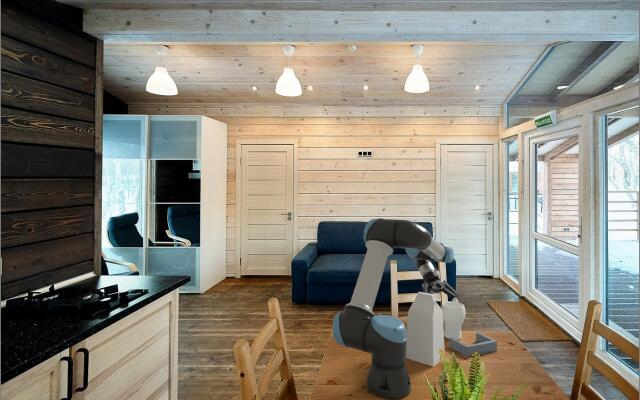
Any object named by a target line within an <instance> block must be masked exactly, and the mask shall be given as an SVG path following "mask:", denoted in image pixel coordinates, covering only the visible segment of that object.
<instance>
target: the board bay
mask: <svg viewBox="0 0 640 400" xmlns="http://www.w3.org/2000/svg"><path fill="white" fill-rule="evenodd" d="M475 334H476V335H475V341H476V342H477V343H472V344H468V345H467V344H464V343H462V342H461V341H459V340H456V339H454V338H452V337H450V338H449V339H448V341H449V342H448V343H449V344H448V345H449V346H448V347H449V348H451V349H453V350H454V351H456V352H458V353H460V354H461V355H463V356H465V357H466V358H470V357H473V356H472V354H473V353H475V352H478V353H479V355H483V354H484V355H485V354H487V353H492V352H493V353H494V352H497V351H498V341H497V340H495V339H493V338H492V337H489V336H486V335H485V334H482V333H480V332H479V331H478V332H475Z"/></svg>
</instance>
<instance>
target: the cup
mask: <svg viewBox="0 0 640 400" xmlns="http://www.w3.org/2000/svg"><path fill="white" fill-rule="evenodd" d="M440 308H441V309H442V312H443V323H444V338H446V339H448V340H449V338H450V337H452V338H454V339H456V340H457V341H459V340H461V339H462V335H463V334H462V330H461V329H462V324H463V323H464V321H465V318H466V308H465V304H463V303H461V302H460V303H458V302H453V301H452V300H451V301H443V302H442V304H441V306H440Z"/></svg>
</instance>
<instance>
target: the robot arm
mask: <svg viewBox="0 0 640 400" xmlns="http://www.w3.org/2000/svg"><path fill="white" fill-rule="evenodd" d="M363 241H364V243H365V247H366V249H367V250H366V254H365V256H364V259H363V263H362V265H361V268H360V272H359V275H358V278H357V281H356V285H355V287H354V290H353V294H352V295H351V300H350V302H349V303H346V304H345V305H344V308H343V311H342V310H340V311H338V312H337V313H336V314H335V315H334V317H333V322H332V335H333V338H334V340H335V342H336V343H337V344H338V345H341V346H344V347H345V348H350V349H354V350H357V351H360V352H365V353H367V354H371V364H370V367H369V370H368V373H367V376H366V388H367V390H368V391H369V392H370V393H371V394H373V395H374V396H376V397H379V398H382V399H389V400H390V399H391V400H398V399H402V398H405V397H407V396H409V395H410V393H411V391H412V381H411V378H410V375H409V371H408V369H407V358H406V340H407V336H406V332H407V326H406V324H404V322H403V321H402V320H400V319H399V318H397V317H394V316H392V315H387V314H384V315H383V314H377V315H376V314H375V313H374V312H373V308H374V305H375V302H376V300H377V299H376V298H377V295H378V291H379V287H380V284H381V281H382V278H383V274H384V272H385V268H386V263H387V260H388V257H389V256H391V255H393V253H394V250H395V248H396V249H405V253H406V254H407V256H408V257H409V258H410V259H411V260H412V261H413V262H414V263H415V266H416V267H417V269H418V271H419V274H420V276H421V277H422V279H423V283H422V284H421V289H422V293H427V294H433V295H434V293H435V292H439V291H440V292H442V293H443V294H445V295H447V296H448V297H449V298H451V299H452V300H451V302H458V303H461V302H460V301H459V299H458V297H460V294H459V292H457V291H456V290H455V288H453V287H452V286H451V285H450V284H449V283H448V282H447V281H446V279H445V280H442V281H441V280H440V276H439V274H438V273H437V271H436V269H435V267H434V265H433V263H432V262H438V263H446V264H447V263H449V264H450V263H451V264H452V262H453V259H454V256H455V255H454V249H453V248H452V247H450V246H443V245H442V244H441V243H440V242H439V241H438V240H436V239H435V238H434V237H432V234H431V232H430V231H429V230H427V228H425V227H424V226H422V225H420V224H418V223H416V222H413V221H411V220H407V219H393V218H392V219H389V218H381V217H380V218H372V219H370V220H369V221H367V223H366V225H365V226H364V229H363ZM428 289H429V291H428Z"/></svg>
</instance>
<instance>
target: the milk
mask: <svg viewBox="0 0 640 400" xmlns="http://www.w3.org/2000/svg"><path fill="white" fill-rule="evenodd" d="M406 320H407V321H406V336H407V340H406V359H408V360H411V361H413V362H414V361H415V362H416V363H417V362H418V363H421V364H423V365H428V366H429V367H430V366H431V367H435V366H436V365H437V364H439V362H440V361H441V360H440V353H439V348H441V349H442V350H443V351H444V352H445V336H444V332H445V329H444V320H443V312H442V309H441V306H440V305H439V304H438V302H436V299H435V296H434V293H433V294H429V293H428V294H427V293H423V291H422V292H421V291H418V292H417V294H416V296H415V298H414V300H413V302H412V303H411V306H410V307H409V308H408V312H407V318H406Z"/></svg>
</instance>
